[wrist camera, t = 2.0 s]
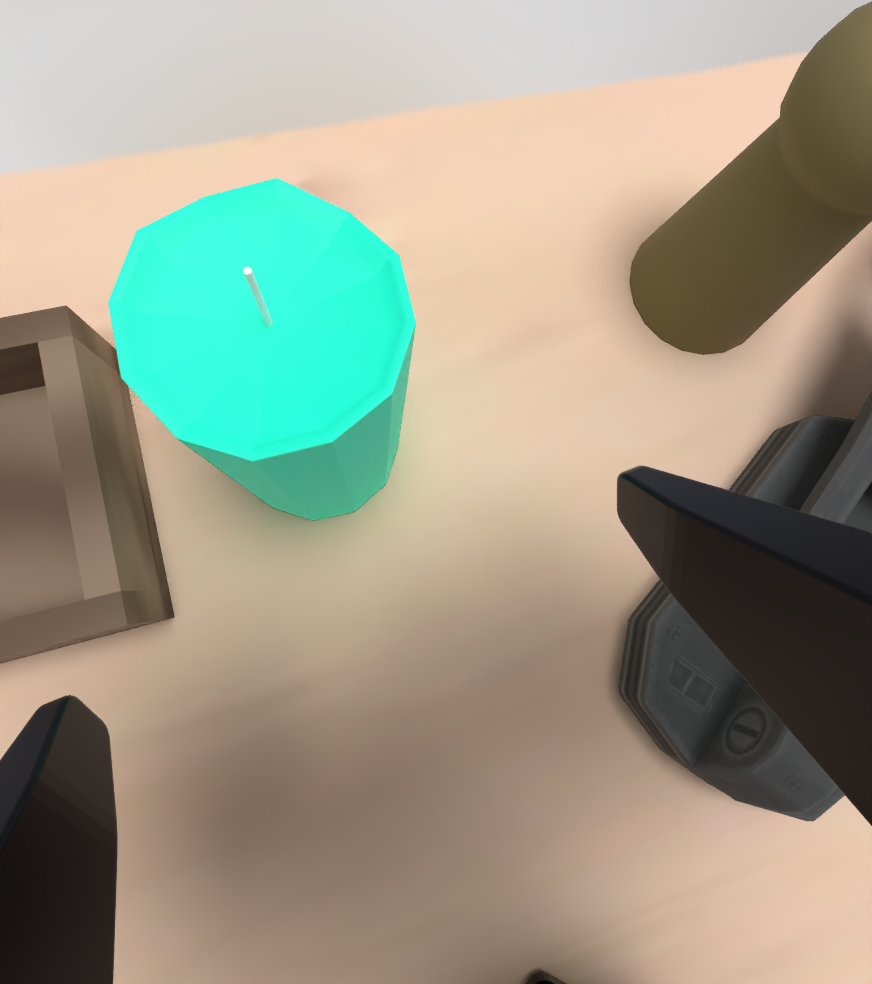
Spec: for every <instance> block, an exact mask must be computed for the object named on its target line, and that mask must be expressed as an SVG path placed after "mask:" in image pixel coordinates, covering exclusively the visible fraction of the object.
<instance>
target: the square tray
mask: <svg viewBox="0 0 872 984" xmlns="http://www.w3.org/2000/svg"><path fill="white" fill-rule="evenodd" d="M170 618H174V613H173V609H172V604H171V599H170V594H169V589H168V584H167V579H166V574H165V569H164V564H163V559H162V554H161V549H160V544H159V539H158V534H157V529H156V524H155V520H154V515H153V510H152V505H151V500H150V495H149V490H148V485H147V480H146V475H145V470H144V465H143V460H142V455H141V450H140V445H139V440H138V436H137V431H136V426H135V421H134V416H133V411H132V406H131V401H130V396H129V391H128V386H127V384H126V382H125V381H124V380H123V379H122V378H121V374H120V368H119V362H118V356H117V350H116V349H115V348H114V347H112V346H111V345H110V344H109V343H108V342H107V341H106V340H105V339H103V338H102V337H101V336H100V335H99V334H98V333H97V332H96V331H94V330H93V329H92V328H91V327H90V326H89V325H88V324H86V323H85V322H84V321H83V320H82V319H81V318H80V317H79V316H77V315H76V314H75V313H74V312H73V311H72V310H71V309H70V308H68V307H67V306H61V307H56V308H51V309H45V310H40V311H35V312H30V313H24V314H19V315H14V316H8V317H3V318H0V663H4V662H8V661H11V660H15V659H19V658H23V657H26V656H30V655H34V654H38V653H42V652H45V651H49V650H53V649H57V648H60V647H64V646H68V645H72V644H76V643H79V642H83V641H87V640H91V639H94V638H98V637H102V636H106V635H110V634H113V633H117V632H121V631H125V630H128V629H132V628H136V627H140V626H143V625H147V624H151V623H155V622H159V621H162V620H166V619H170Z"/></svg>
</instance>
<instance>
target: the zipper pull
mask: <svg viewBox="0 0 872 984" xmlns="http://www.w3.org/2000/svg"><path fill="white" fill-rule="evenodd" d="M729 491H732V492H736V493H739V494H743V495H746V496H750V497H753V498H756V499H760V500H763V501H767V502H770V503H774V504H777V505H780V506H784V507H787V508H791V509H794V510H798V511H801V512H805V513H808V514H811V515H815V516H818V517H822V518H825V519H829V520H832V521H835V522H839V523H842V524H846V525H849V526H853V527H856V528H860V529H863V530H866V531H870V532H872V392H871V394H870V395H869V397H868V399H867V401H866V403H865V404H864V406H863V408H862V410H861V412H860V413H859V415H858V417H857V419H856V420H851V419H843V418H835V417H827V416H820V415H812V416H810V417H807V418H805V419H802V420H799V421H797V422H794V423H792V424H789V425H787V426H784V427H782V428H779V429H777V430H776V431H774V433H773V434H772V435H771V436H770V437H769V438H768V439H767V441H766V442H765V443H764V445H763V446H762V447H761V449H760V450H759V451H758V452H757V454H756V455H755V456H754V458H753V459H752V460H751V462H750V463H749V464H748V466H747V467H746V468H745V470H744V471H743V472H742V473H741V475H740V476H739V477H738V479H737V480H736V481H735V483H734V484H733V485H732V487H731V488H730V489H729ZM619 692H620V694H621V696H622V697H623V699H624V700H625V702H626V703H627V704H628V706H629V707H630V708H631V710H632V711H633V712H634V714H635V715H636V717H637V718H638V719H639V721H640V722H641V723H642V725H643V726H644V727H645V729H646V730H647V731H648V733H649V734H650V736H651V737H652V738H653V740H654V741H655V742H656V744H657V745H658V746H659V748H660V749H661V750H662V751H663V752H665V753H666V754H668V755H669V756H671V757H672V758H673V759H675V760H676V761H678V762H679V763H680V764H682V765H683V766H685V767H686V768H687V769H689V770H690V771H692V772H693V773H694V774H696V775H697V776H699V777H700V778H702V779H703V780H704V781H706V782H707V783H709V784H710V785H712V786H714V787H715V788H717V789H719V790H720V791H722V792H724V793H725V794H727V795H729V796H730V797H731V798H733V799H734V800H736V801H739V802H743V803H747V804H750V805H753V806H757V807H760V808H764V809H767V810H770V811H774V812H777V813H781V814H784V815H788V816H791V817H794V818H798V819H801V820H805V821H814V820H816V819H817V818H818V817H820V816H821V815H822V814H823V813H824V812H826V811H827V810H828V809H829V808H830V807H831V806H833V805H834V804H835V803H836V802H837V801H839V800H840V799H841V798H842V797H843V796H845V794H844V793H843V792H842V791H841V790H840V789H839V788H838V786H837V785H836V784H835V783H834V782H833V781H832V779H831V778H830V777H829V776H828V775H827V774H826V773H825V771H824V770H823V769H822V768H821V767H820V766H819V764H818V763H817V762H816V761H815V760H814V759H813V758H812V756H811V755H810V754H809V753H808V752H807V751H806V749H805V748H804V747H803V746H802V745H801V744H800V743H799V741H798V740H797V739H796V738H795V737H794V736H793V734H792V733H791V732H790V731H789V730H788V729H787V728H786V726H785V725H784V724H783V723H782V722H781V721H780V719H779V718H778V717H777V716H776V715H775V714H774V713H773V711H772V710H771V709H770V708H769V707H768V706H767V704H766V703H765V702H764V701H763V700H762V699H761V698H760V696H759V695H758V694H757V693H756V692H755V691H754V689H753V688H752V687H751V686H750V685H749V684H748V682H747V681H746V680H745V679H744V678H743V677H742V676H741V674H740V673H739V672H738V671H737V670H736V669H735V667H734V666H733V665H732V664H731V663H730V662H729V661H728V659H727V658H726V657H725V656H724V655H723V654H722V652H721V651H720V650H719V649H718V648H717V647H716V646H715V644H714V643H713V642H712V641H711V640H710V639H709V637H708V636H707V635H706V634H705V633H704V632H703V631H702V629H701V628H700V627H699V626H698V625H697V624H696V622H695V621H694V620H693V619H692V618H691V617H690V616H689V614H688V613H687V612H686V611H685V610H684V609H683V607H682V606H681V605H680V604H679V603H678V602H677V600H676V599H675V598H674V597H673V596H672V594H671V593H670V592H669V591H668V589H667V588H666V586H665V585H664V584H663V582H662V581H661V580H659V581H658V583H657V584H656V585H655V586H654V588H653V589H652V590H651V591H650V593H649V594H648V595H647V596H646V598H645V599H644V600H643V601H642V603H641V604H640V605H639V606H638V608H637V609H636V610H635V611H634V613H633V614H632V615H631V617H630V618H629V624H628V631H627V637H626V644H625V651H624V658H623V665H622V671H621V678H620V685H619Z"/></svg>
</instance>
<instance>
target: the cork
mask: <svg viewBox="0 0 872 984" xmlns="http://www.w3.org/2000/svg"><path fill="white" fill-rule="evenodd" d="M871 221H872V2H870V3H867V4H865V5H863V6H861V7H859V8H857V9H855V10H854V11H853V12H851V13H850V14H849V15H848V16H847V17H845V18H844V19H843V20H842V21H841V22H839V23H838V24H837V25H836V26H835V27H834V28H832V29H831V30H830V31H829V32H828V33H827V34H826V35H825V36H824V37H823V38H821V40H819V41H818V42H817V43H816V45H815V46H814V47H813V48H812V50H811V51H810V52H809V53H808V55H807V56H806V57H805V59H804V60H803V61H802V62H801V64H800V66H799V68H798V70H797V72H796V74H795V76H794V78H793V80H792V82H791V84H790V86H789V88H788V91H787V93H786V95H785V97H784V99H783V101H782V103H781V108H780V118H779V119H778V120H776V121H775V122H774V123H773V124H772V125H771V126H770V127H769V128H768V129H767V130H766V131H764V132H763V133H762V134H761V135H760V136H759V137H758V138H757V139H756V140H755V141H754V142H752V143H751V144H750V145H749V146H748V147H747V148H746V149H745V150H744V151H743V152H742V153H740V154H739V155H738V156H737V157H736V158H735V159H734V160H733V161H732V162H731V163H730V164H728V165H727V166H726V167H725V168H724V169H723V170H722V171H721V172H720V173H719V174H718V175H716V176H715V177H714V178H713V179H712V180H711V181H710V182H709V183H708V184H707V185H706V186H704V187H703V188H702V189H701V190H700V191H699V192H698V193H697V194H696V195H695V196H694V197H692V198H691V199H690V200H689V201H688V202H687V203H686V204H685V205H684V206H683V207H682V208H680V209H679V210H678V211H677V212H676V213H675V214H674V215H673V216H672V217H671V218H669V219H668V220H667V221H666V222H665V223H664V224H663V225H662V226H661V227H660V228H659V229H657V230H656V231H655V232H654V233H653V234H652V235H651V236H650V237H649V238H648V239H647V240H646V241H645V242H644V243H642V244H641V246H640V248H639V250H638V252H637V254H636V256H635V258H634V260H633V262H632V268H631V276H630V286H631V291H632V296H633V301H634V304H635V306H636V308H637V310H638V312H639V313H640V315H641V317H642V319H643V321H644V322H645V324H646V325H647V326H648V327H649V328H650V329H651V330H652V331H653V332H654V333H655V334H656V335H657V336H658V337H659V338H660V339H662V340H663V341H665V342H667V343H669V344H671V345H673V346H675V347H676V348H678V349H680V350H683V351H688V352H693V353H698V354H703V355H704V354H713V353H722V352H726V351H728V350H730V349H732V348H734V347H736V346H738V345H740V344H742V343H743V342H744V341H745V340H746V339H748V338H749V337H750V336H751V335H752V334H753V333H754V332H755V331H756V330H757V329H758V328H759V327H760V326H761V325H762V324H763V323H764V322H765V321H767V320H768V319H769V318H770V317H771V316H772V315H773V314H774V313H775V312H776V311H777V310H778V309H779V308H780V307H781V306H782V305H783V304H784V303H786V302H787V301H788V300H789V299H790V298H791V297H792V296H793V295H794V294H795V293H796V292H797V291H798V290H799V289H800V288H801V287H802V286H803V285H804V284H806V283H807V282H808V281H809V280H810V279H811V278H812V277H813V276H814V275H815V274H816V273H817V272H818V271H819V270H820V269H821V268H822V267H823V266H825V265H826V264H827V263H828V262H829V261H830V260H831V259H832V258H833V257H834V256H835V255H836V254H837V253H838V252H839V251H840V250H841V249H842V248H844V247H845V246H846V245H847V244H848V243H849V242H850V241H851V240H852V239H853V238H854V237H855V236H856V235H857V234H858V233H859V232H860V231H861V230H862V229H864V228H865V227H866V226H867V225H868V224H869V223H870V222H871Z"/></svg>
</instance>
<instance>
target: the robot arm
mask: <svg viewBox="0 0 872 984" xmlns="http://www.w3.org/2000/svg"><path fill="white" fill-rule="evenodd" d="M617 512H618V516H619V519H620V521H621V523H622V524H623V526H624V527H625V529H626V530H627V532H628V533H629V535H630V536H631V537H632V539H633V540H634V542H635V543H636V545H637V546H638V548H639V549H640V551H641V552H642V553H643V555H644V556H645V558H646V559H647V561H648V562H649V564H650V565H651V567H652V568H653V569H654V571H655V572H656V574H657V575H658V577H659V578H660V580H661V581H662V582H663V584H664V585H665V586H666V588H667V589H668V591H669V592H670V593H671V594H672V596H673V597H674V598H675V599H676V600H677V602H678V603H679V604H680V605H681V606H682V607H683V609H684V610H685V611H686V612H687V613H688V614H689V616H690V617H691V618H692V619H693V620H694V621H695V622H696V624H697V625H698V626H699V627H700V628H701V629H702V631H703V632H704V633H705V634H706V635H707V636H708V637H709V639H710V640H711V641H712V642H713V643H714V644H715V646H716V647H717V648H718V649H719V650H720V651H721V652H722V654H723V655H724V656H725V657H726V658H727V659H728V661H729V662H730V663H731V664H732V665H733V666H734V667H735V669H736V670H737V671H738V672H739V673H740V674H741V676H742V677H743V678H744V679H745V680H746V681H747V682H748V684H749V685H750V686H751V687H752V688H753V689H754V691H755V692H756V693H757V694H758V695H759V696H760V698H761V699H762V700H763V701H764V702H765V703H766V704H767V706H768V707H769V708H770V709H771V710H772V711H773V713H774V714H775V715H776V716H777V717H778V718H779V719H780V721H781V722H782V723H783V724H784V725H785V726H786V728H787V729H788V730H789V731H790V732H791V733H792V734H793V736H794V737H795V738H796V739H797V740H798V741H799V743H800V744H801V745H802V746H803V747H804V748H805V749H806V751H807V752H808V753H809V754H810V755H811V756H812V758H813V759H814V760H815V761H816V762H817V763H818V764H819V766H820V767H821V768H822V769H823V770H824V771H825V773H826V774H827V775H828V776H829V777H830V778H831V779H832V781H833V782H834V783H835V784H836V785H837V786H838V788H839V789H840V790H841V791H842V792H843V793H844V794H845V796H846V797H847V798H848V799H849V800H850V801H851V803H852V804H853V805H854V806H855V807H856V808H857V809H858V811H859V812H860V813H861V814H862V815H863V816H864V818H865V819H866V820H867V821H868V822H869V823H870V825H871V826H872V532H870V531H866V530H863V529H860V528H856V527H853V526H849V525H846V524H842V523H839V522H835V521H832V520H829V519H825V518H822V517H818V516H815V515H811V514H808V513H805V512H801V511H798V510H794V509H791V508H787V507H784V506H780V505H777V504H774V503H770V502H767V501H763V500H760V499H756V498H753V497H750V496H746V495H743V494H739V493H736V492H732V491H729V490H725V489H722V488H719V487H715V486H712V485H708V484H705V483H701V482H698V481H695V480H691V479H688V478H684V477H681V476H677V475H674V474H670V473H667V472H664V471H660V470H657V469H653V468H650V467H646V466H637V467H634V468H632V469H629V470H627V471H624V472H622V473H621V474H619V476H618V478H617ZM116 879H117V819H116V807H115V795H114V784H113V772H112V760H111V748H110V738H109V733H108V730H107V727H106V725H105V724H104V722H103V721H102V720H101V719H100V718H99V717H98V716H97V715H95V714H94V713H93V712H92V711H91V710H90V709H89V708H88V707H87V706H86V705H85V704H84V703H82V702H81V701H80V700H79V699H78V698H77V697H75V696H71V695H69V696H64V697H62V698H59V699H57V700H54V701H52V702H49V703H47V704H44V705H43V706H41V707H40V708H39V709H38V710H37V711H36V712H35V713H34V715H33V716H32V717H31V719H30V720H29V721H28V723H27V724H26V726H25V727H24V728H23V730H22V731H21V732H20V734H19V735H18V736H17V738H16V739H15V741H14V742H13V743H12V745H11V746H10V747H9V749H8V750H7V752H6V753H5V754H4V756H3V757H2V758H1V760H0V984H113V971H114V940H115V909H116ZM527 984H564V983H562V982H561V981H559V980H557V979H556V978H554V977H552V976H550V975H549V974H547V973H543V972H539V973H535V974H534V975H532V976H531V977H530V979H529V980H528V982H527Z"/></svg>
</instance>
